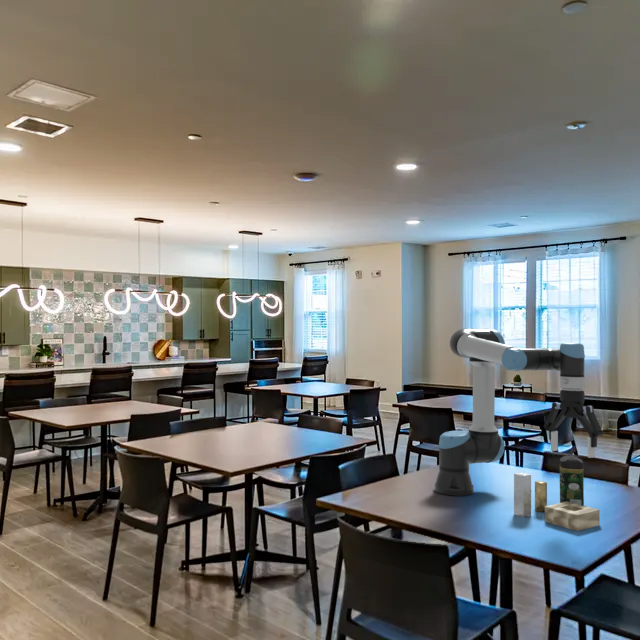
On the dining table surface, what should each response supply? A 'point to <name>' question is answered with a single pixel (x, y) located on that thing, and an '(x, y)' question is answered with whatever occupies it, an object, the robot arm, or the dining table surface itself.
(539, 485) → the round bit
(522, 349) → the robot arm
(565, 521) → the socket block
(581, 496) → the coffee jar
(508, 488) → the dining table surface
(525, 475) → the square bit
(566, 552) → the dining table surface
